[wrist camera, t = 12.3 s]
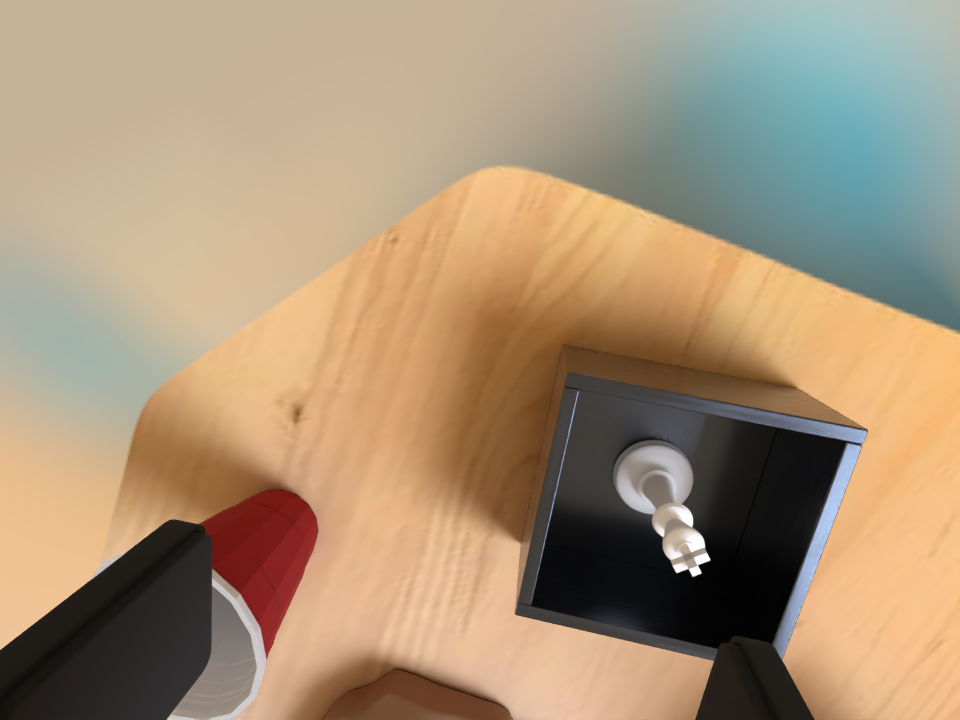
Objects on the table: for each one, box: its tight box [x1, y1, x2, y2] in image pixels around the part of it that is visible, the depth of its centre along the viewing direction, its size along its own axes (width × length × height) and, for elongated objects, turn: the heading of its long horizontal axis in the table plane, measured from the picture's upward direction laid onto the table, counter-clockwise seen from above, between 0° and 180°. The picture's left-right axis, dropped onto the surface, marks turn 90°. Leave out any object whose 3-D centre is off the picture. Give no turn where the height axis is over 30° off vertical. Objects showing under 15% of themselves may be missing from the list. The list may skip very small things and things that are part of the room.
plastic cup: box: [91, 490, 318, 720], centre depth 33 cm, size 11×11×12 cm
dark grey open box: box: [515, 345, 868, 661], centre depth 31 cm, size 15×15×7 cm
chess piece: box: [613, 440, 710, 577], centre depth 29 cm, size 5×5×10 cm
